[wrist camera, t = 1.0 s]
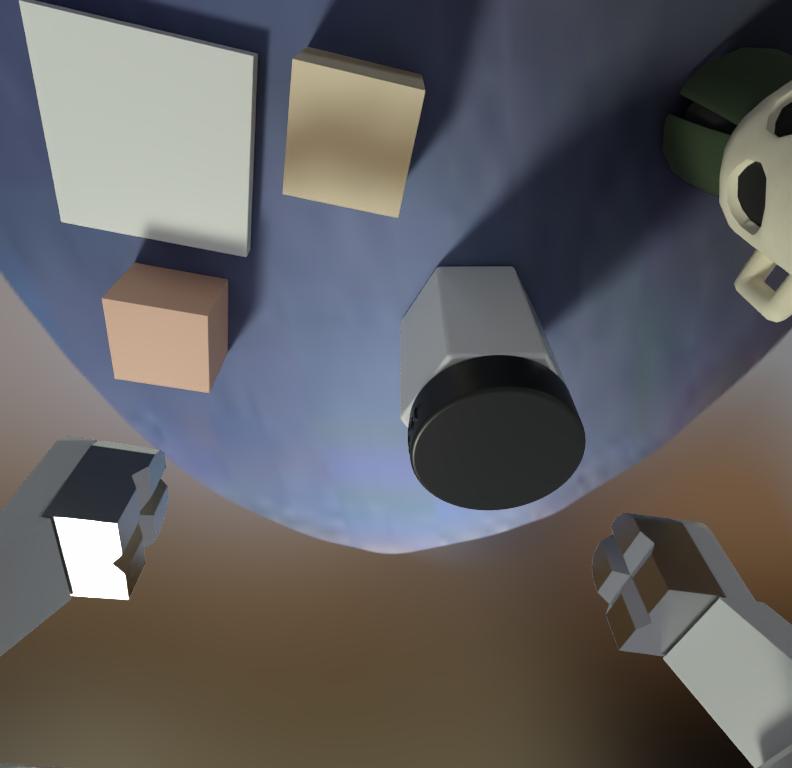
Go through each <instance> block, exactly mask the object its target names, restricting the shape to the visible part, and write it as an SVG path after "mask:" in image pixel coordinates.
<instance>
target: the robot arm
mask: <svg viewBox="0 0 792 768" xmlns="http://www.w3.org/2000/svg"><path fill="white" fill-rule="evenodd" d="M165 468H166V462H165V453H164V452H163V451H161V450H157V449H151V448H144V447H138V446H132V445H125V444H120V443H113V442H107V441H101V440H99V441H97V440H91V439H84V438H77V437H72V436H65V437H63V438H61V439H60V440H58V441H57V442H56V443H55V444H54V445H53V446H52V448H51V449H50V450H49V451H48V453H47V454H46V455H45V456H44V458H43V459H42V460H41V461H40V463H39V464H38V465H37V466H36V468H35V469H34V470H33V471H32V473H31V474H30V475H29V476H28V477H27V479H26V480H25V481H24V483H23V484H22V485H21V486H20V487H19V489H18V490H17V491H16V492H15V494H14V495H13V496H12V497H11V499H10V500H9V501H8V502H7V504H6V505H5V506H4V507H3V509H2V510H1V511H0V656H1V655H3V654H4V653H5V652H6V651H8V650H9V649H10V648H11V647H13V646H14V645H15V644H16V643H18V642H19V641H20V640H21V639H22V638H24V637H25V636H26V635H27V634H28V633H30V632H31V631H32V630H34V629H35V628H36V627H37V626H38V625H40V624H41V623H42V622H43V621H44V620H46V619H47V618H48V617H50V616H51V615H52V614H53V613H54V612H56V611H57V610H58V609H59V608H61V607H62V606H63V605H64V604H66V603H67V602H68V601H69V600H70V599H71V595H72V596H85V597H99V598H111V599H125V600H129V598H130V596H131V594H132V592H133V589H134V587H135V585H136V583H137V581H138V578H139V576H140V574H141V572H142V570H143V567H144V566H145V554H144V548H146V547H147V546H149V545H150V544H152V543H153V542H155V541H156V539H157V537H158V534H159V532H160V530H161V527H162V525H163V521H164V517H165V514H166V510H167V501H168V487H167V485H166V484H165V483H164V482H163V481H162V480H161V479H160V478H161V476H162V474H163V472H164V470H165ZM611 529H612V532H613V535H612V536H610V537H608V538H606V539H604V540H603V541H601V542H600V543H599V545H598V547H597V549H596V550H595V552H594V554H593V562H592V574H593V580H594V583H595V586H596V589H597V592H598V593H599V594H600V595H601V596H602V597H603V598H604V599H605V600H606V601H607V602H608V603H609V607H608V610H607V613H606V617H607V619H608V622H609V625H610V627H611V630H612V633H613V636H614V638H615V641H616V643H617V646H618V649H619V650H621V651H628V652H636V653H644V654H651V655H659V656H665V657H664V658H663V659H664V660H665V662H667V664H668V665H669V666H670V668H671V669H672V670H673V671H674V672H675V673H676V675H677V676H678V677H679V678H680V679H681V681H682V682H683V683H684V684H685V685H686V687H687V688H688V689H689V690H690V691H691V693H692V694H693V695H694V696H695V697H696V699H698V701H699V702H700V703H701V704H702V706H703V707H704V708H705V709H706V710H707V712H708V713H709V714H710V715H711V716H712V718H713V719H714V720H715V721H716V722H717V724H718V725H719V726H720V727H721V728H722V729H723V731H724V732H725V733H726V734H727V735H728V737H729V738H730V739H731V740H732V741H733V743H734V744H735V745H736V746H737V747H738V749H739V750H740V751H741V752H742V753H743V755H744V756H745V757H746V758H747V759H748V761H749V762H750V763H751V764H752V765H753V766H754V768H792V625H791V624H790V623H789V622H787V621H786V620H785V619H783V618H782V617H781V616H780V615H779V614H777V613H776V612H775V611H774V610H772V609H771V608H770V607H769V606H767V605H766V604H765V603H761V602H756V601H755V599H754V598H753V596H752V595H751V593H750V592H749V590H748V588H747V587H746V585H745V584H744V582H743V580H742V579H741V577H740V576H739V574H738V573H737V571H736V569H735V568H734V566H733V565H732V563H731V562H730V560H729V558H728V557H727V555H726V554H725V552H724V551H723V549H722V548H721V546H720V544H719V543H718V541H717V540H716V538H715V536H714V535H713V533H712V532H711V530H710V529H709V528H708V527H707V526H705V525H704V524H703V523H701V522H693V521H684V520H677V519H676V520H673V519H669V518H661V517H653V516H645V515H637V514H629V513H623V514H621V515H619V516H618V517H616V519H615V520H614V522H613V523H612V525H611ZM0 768H67V767H52V766H36V765H21V764H6V763H0Z"/></svg>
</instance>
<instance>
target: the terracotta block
mask: <svg viewBox="0 0 792 768" xmlns="http://www.w3.org/2000/svg"><path fill="white" fill-rule="evenodd" d="M102 302H103V309H104V315H105V321H106V327H107V333H108V339H109V345H110V352H111V358H112V364H113V370H114V376H115V379H121V380H127V381H134V382H140V383H147V384H154V385H160V386H167V387H173V388H180V389H186V390H193V391H199V392H206V393H210V391H211V388H212V386H213V384H214V382H215V379H216V377H217V375H218V373H219V371H220V368H221V366H222V364H223V362H224V360H225V357H226V355H227V353H228V279H223V278H218V277H212V276H206V275H201V274H195V273H190V272H184V271H179V270H173V269H167V268H162V267H156V266H151V265H145V264H140V263H134V264H133V265H132V266H131V267H130V268H129V269H128V270H127V271H126V272H125V273H124V275H123V276H122V277H121V278H120V279H119V280H118V281H117V282H116V283H115V284H114V285H113V287H112V288H111V289H110V290H109V291H108V292H107V293H106V294H105V295H104V296H103V297H102Z"/></svg>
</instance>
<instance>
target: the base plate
mask: <svg viewBox="0 0 792 768" xmlns="http://www.w3.org/2000/svg"><path fill="white" fill-rule="evenodd" d="M19 4H20V9H21V14H22V19H23V25H24V30H25V35H26V40H27V45H28V51H29V56H30V61H31V66H32V71H33V77H34V82H35V87H36V92H37V98H38V103H39V108H40V113H41V118H42V124H43V129H44V134H45V139H46V145H47V150H48V155H49V160H50V165H51V171H52V176H53V181H54V186H55V192H56V197H57V202H58V207H59V212H60V218H61V222H64V223H70V224H75V225H80V226H85V227H91V228H96V229H101V230H106V231H112V232H117V233H122V234H127V235H132V236H138V237H143V238H148V239H153V240H159V241H164V242H169V243H174V244H179V245H185V246H190V247H195V248H200V249H206V250H211V251H216V252H221V253H227V254H232V255H237V256H242V257H247V255H248V253H249V252H250V246H251V220H252V195H253V169H254V144H255V118H256V93H257V67H258V54H257V53H253V52H249V51H245V50H241V49H237V48H232V47H228V46H224V45H220V44H216V43H212V42H207V41H203V40H199V39H195V38H191V37H187V36H182V35H178V34H174V33H170V32H166V31H162V30H157V29H153V28H149V27H145V26H141V25H137V24H132V23H128V22H124V21H120V20H116V19H111V18H107V17H103V16H99V15H95V14H91V13H86V12H82V11H78V10H74V9H70V8H66V7H61V6H57V5H53V4H49V3H45V2H41V1H36V0H19Z"/></svg>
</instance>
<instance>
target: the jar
mask: <svg viewBox="0 0 792 768" xmlns="http://www.w3.org/2000/svg"><path fill="white" fill-rule="evenodd" d="M400 417H401V420H402V421H403V422H404V424H405V425H406V426H407V427H408V446H409V454H410V461H411V465H412V469H413V471H414V474H415V475H416V477H417V479H418V480H419V482H420V483H421V484H422V485H423V486H424V487H425V488H426V489H427V490H428V491H429V492H430V493H432V494H433V495H434V496H436V497H438V498H439V499H441V500H443V501H445V502H447V503H450V504H453V505H456V506H459V507H463V508H468V509H475V510H501V509H509V508H514V507H518V506H522V505H525V504H529V503H531V502H534V501H537V500H539V499H541V498H543V497H545V496H547V495H549V494H550V493H552V492H553V491H555V490H556V489H558V488H559V487H560V486H562V485H563V484H564V483H565V482H566V481H567V480H568V479H569V478H570V477H571V476H572V475H573V473H574V472H575V471H576V469H577V467H578V466H579V464H580V462H581V460H582V457H583V454H584V450H585V432H584V428H583V425H582V422H581V420H580V417H579V415H578V412H577V410H576V407H575V405H574V402H573V400H572V398H571V395H570V393H569V390H568V388H567V386H566V384H565V381H564V379H563V376H562V374H561V371H560V369H559V366H558V364H557V361H556V359H555V357H554V354H553V352H552V349H551V347H550V344H549V342H548V339H547V337H546V334H545V332H544V329H543V327H542V324H541V322H540V320H539V318H538V316H537V314H536V312H535V310H534V307H533V305H532V303H531V301H530V299H529V297H528V295H527V293H526V291H525V289H524V287H523V285H522V283H521V281H520V279H519V277H518V275H517V272H516V270H515V269H514V267H511V266H467V267H437V268H436V269H435V271H434V272H433V274H432V275H431V277H430V278H429V280H428V281H427V283H426V284H425V286H424V287H423V289H422V290H421V292H420V293H419V295H418V296H417V298H416V299H415V301H414V302H413V304H412V305H411V307H410V308H409V310H408V311H407V313H406V314H405V316H404V317H403V319H402V320H401V322H400Z"/></svg>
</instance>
